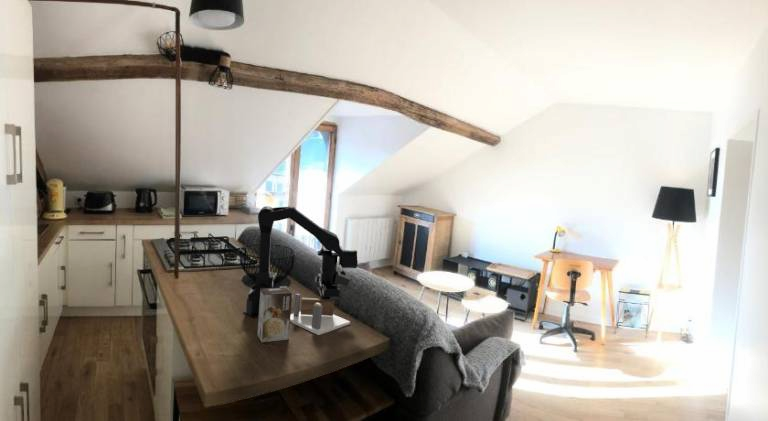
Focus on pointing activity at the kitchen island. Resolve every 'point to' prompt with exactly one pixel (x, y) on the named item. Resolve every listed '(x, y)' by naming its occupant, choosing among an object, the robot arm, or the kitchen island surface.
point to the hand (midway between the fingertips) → (325, 306)
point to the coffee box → (274, 314)
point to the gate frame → (316, 319)
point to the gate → (310, 302)
